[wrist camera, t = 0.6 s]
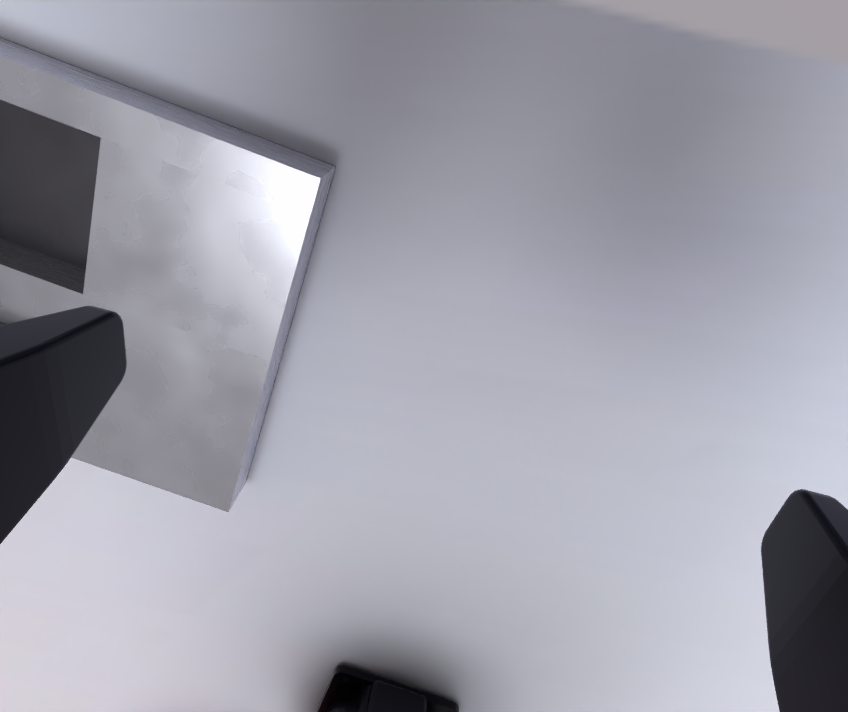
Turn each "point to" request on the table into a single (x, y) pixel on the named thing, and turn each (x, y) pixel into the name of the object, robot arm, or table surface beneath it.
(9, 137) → the socket
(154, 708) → the table surface
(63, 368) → the robot arm
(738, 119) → the table surface
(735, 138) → the table surface
